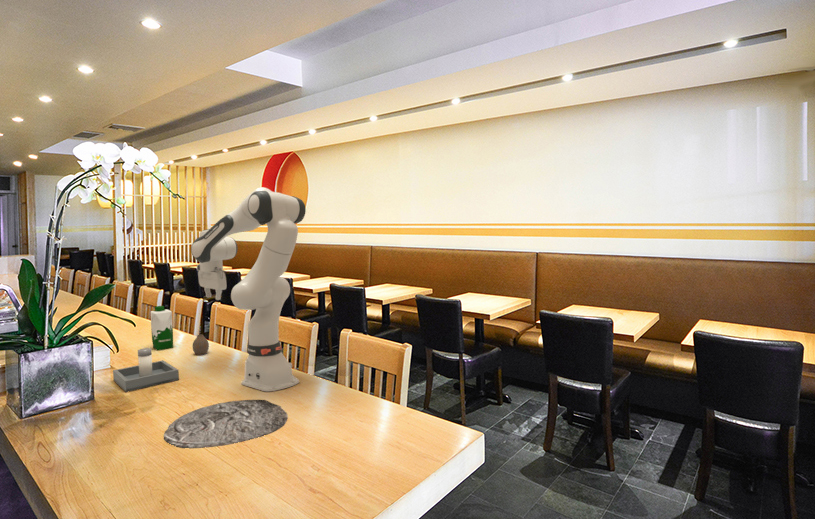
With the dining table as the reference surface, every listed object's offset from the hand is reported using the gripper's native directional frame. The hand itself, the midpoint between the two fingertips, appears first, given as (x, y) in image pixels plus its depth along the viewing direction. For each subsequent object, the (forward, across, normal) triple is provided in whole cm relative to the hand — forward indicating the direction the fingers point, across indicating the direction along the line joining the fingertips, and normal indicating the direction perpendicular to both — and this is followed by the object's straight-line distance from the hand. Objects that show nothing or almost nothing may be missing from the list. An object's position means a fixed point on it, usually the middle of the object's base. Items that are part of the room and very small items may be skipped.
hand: (213, 298), depth 205 cm
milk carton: (+28, +40, +9) cm, 50 cm away
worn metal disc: (+28, -65, +25) cm, 75 cm away
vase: (+28, +16, 0) cm, 32 cm away
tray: (+27, -5, +30) cm, 41 cm away
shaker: (+26, -5, +30) cm, 40 cm away
